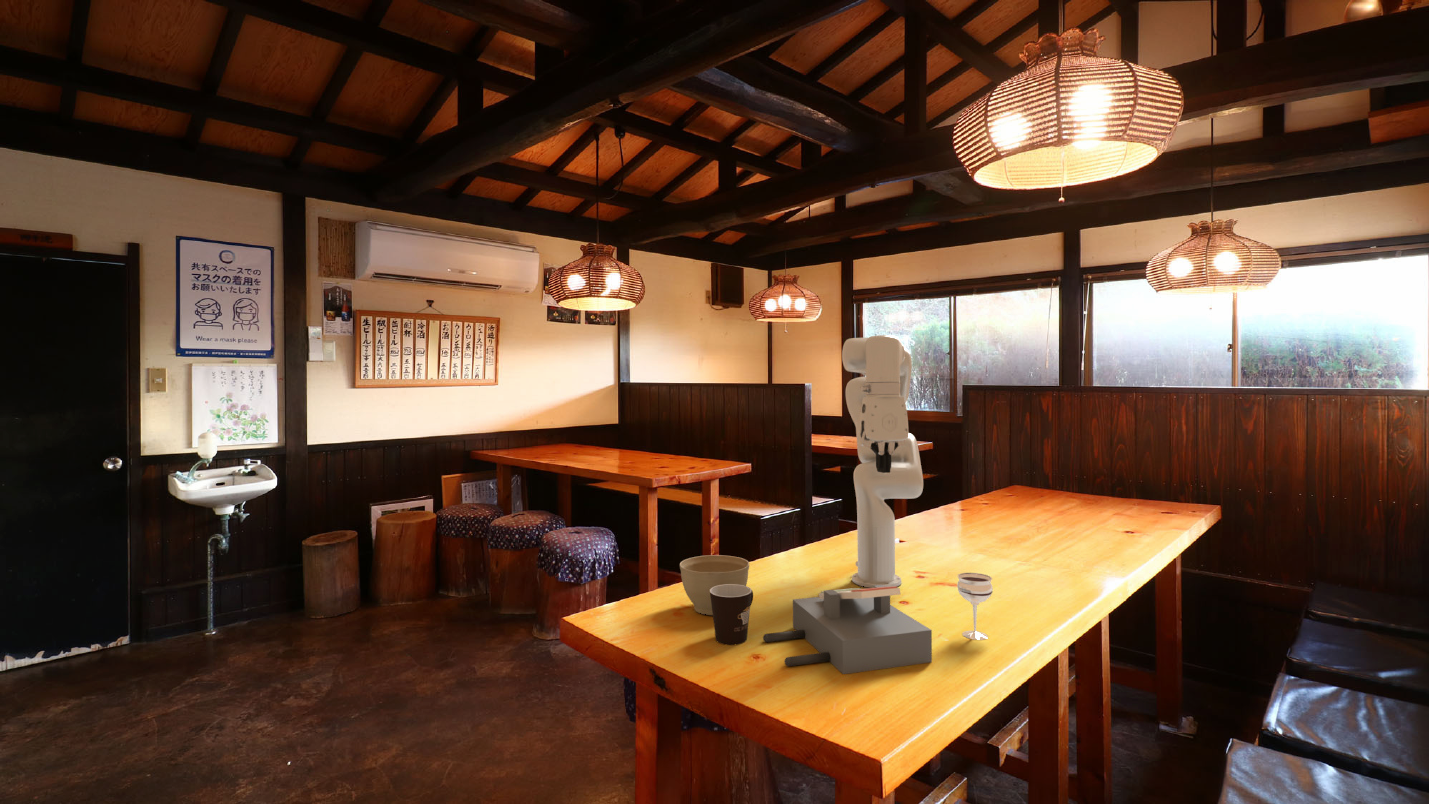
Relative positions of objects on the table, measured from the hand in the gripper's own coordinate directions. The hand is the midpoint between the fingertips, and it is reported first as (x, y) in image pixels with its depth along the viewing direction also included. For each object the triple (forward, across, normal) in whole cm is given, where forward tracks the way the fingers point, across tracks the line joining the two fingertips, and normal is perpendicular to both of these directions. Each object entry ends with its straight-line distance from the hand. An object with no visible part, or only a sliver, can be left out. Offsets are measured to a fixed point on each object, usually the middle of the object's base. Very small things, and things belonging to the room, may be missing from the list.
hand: (883, 471), depth 147 cm
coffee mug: (+32, -36, -4) cm, 49 cm away
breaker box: (+32, -18, -14) cm, 40 cm away
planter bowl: (+32, -36, +14) cm, 50 cm away
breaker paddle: (+22, -14, -14) cm, 30 cm away
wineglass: (+32, +11, -17) cm, 38 cm away
